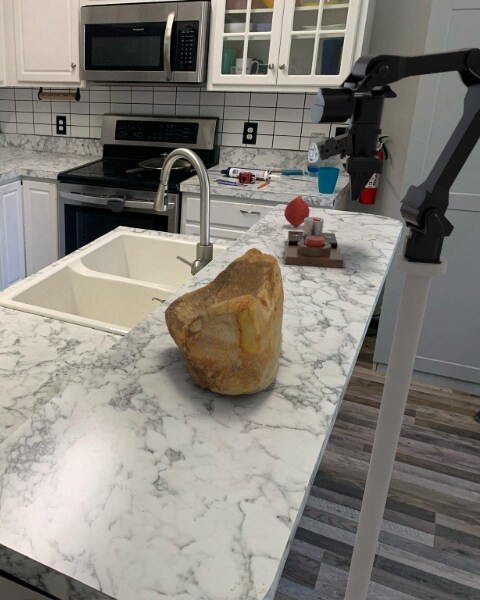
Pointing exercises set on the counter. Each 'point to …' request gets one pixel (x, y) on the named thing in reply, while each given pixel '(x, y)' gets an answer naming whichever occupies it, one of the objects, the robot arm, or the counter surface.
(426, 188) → the robot arm
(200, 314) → the rough brown rock
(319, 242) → the button
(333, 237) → the dial panel
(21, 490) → the counter surface
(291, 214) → the onion
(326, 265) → the button block
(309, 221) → the dial
